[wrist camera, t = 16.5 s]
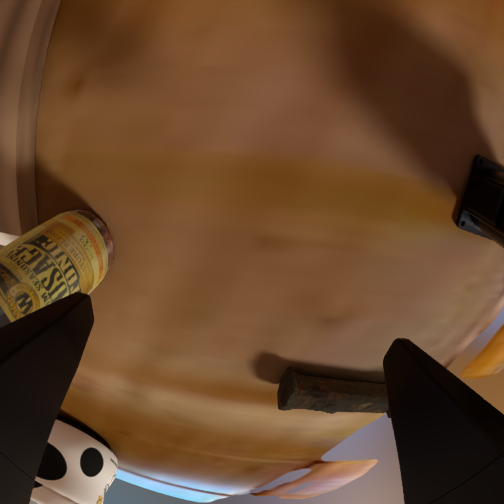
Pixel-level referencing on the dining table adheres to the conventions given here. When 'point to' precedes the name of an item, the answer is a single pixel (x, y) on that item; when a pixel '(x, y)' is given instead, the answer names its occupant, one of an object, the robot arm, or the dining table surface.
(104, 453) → the milk container
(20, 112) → the walnut board
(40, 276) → the sauce bottle
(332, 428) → the dining table surface
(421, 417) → the robot arm
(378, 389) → the hand tool
